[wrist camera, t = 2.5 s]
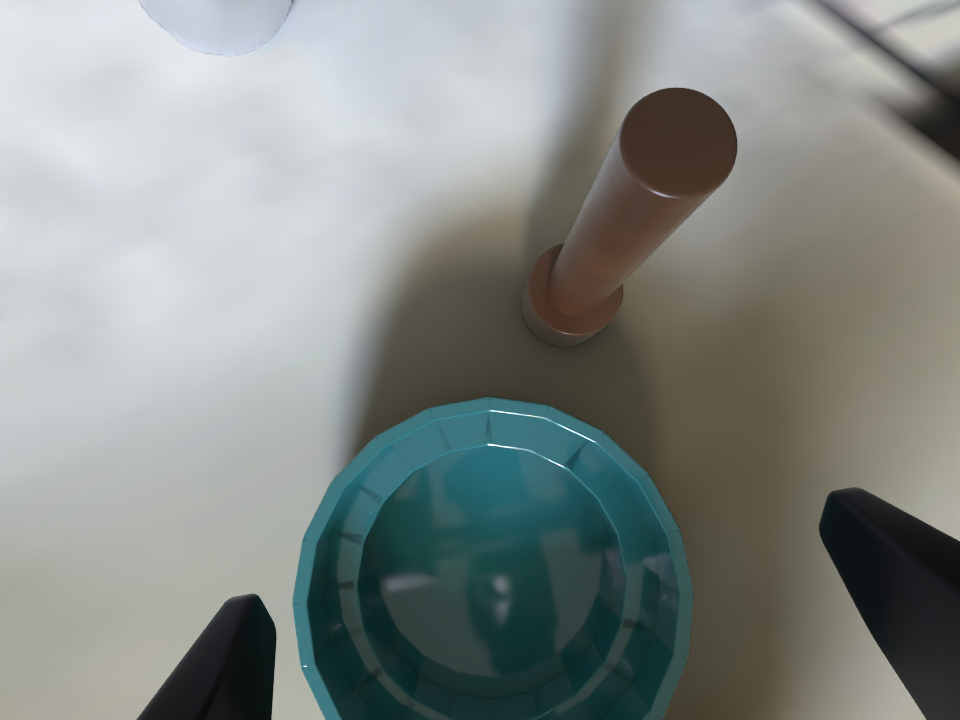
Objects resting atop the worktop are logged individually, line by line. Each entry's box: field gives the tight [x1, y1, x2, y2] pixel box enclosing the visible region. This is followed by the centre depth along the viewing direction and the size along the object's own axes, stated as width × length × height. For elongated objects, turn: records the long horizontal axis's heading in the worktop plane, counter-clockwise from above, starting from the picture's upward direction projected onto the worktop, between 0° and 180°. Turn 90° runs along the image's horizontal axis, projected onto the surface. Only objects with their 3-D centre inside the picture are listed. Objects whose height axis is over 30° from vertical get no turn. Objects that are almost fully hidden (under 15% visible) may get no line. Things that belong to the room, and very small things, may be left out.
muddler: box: [522, 88, 737, 347], centre depth 17 cm, size 4×4×14 cm
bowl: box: [292, 397, 694, 720], centre depth 21 cm, size 13×13×4 cm
